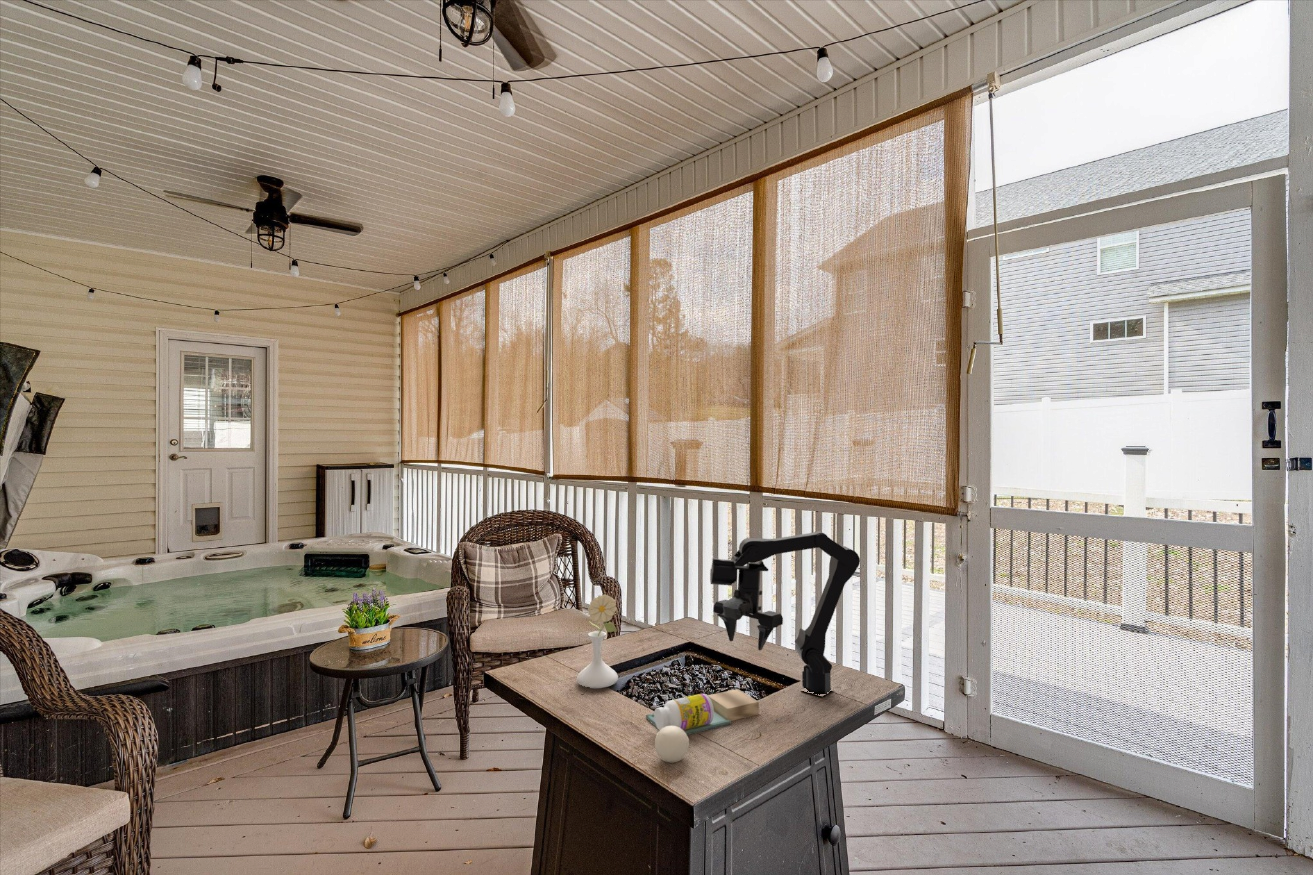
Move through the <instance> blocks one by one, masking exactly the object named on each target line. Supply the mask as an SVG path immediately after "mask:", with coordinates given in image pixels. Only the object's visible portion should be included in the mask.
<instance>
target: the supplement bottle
mask: <svg viewBox="0 0 1313 875" xmlns="http://www.w3.org/2000/svg"><path fill="white" fill-rule="evenodd" d="M707 695H708V694H706V693H698V694H694V695H690V696H689V695H688V696H685V697H679V698H676V699H672V700H671V699H670V700H667V701H666V702H665V704H664V706H663V707H662V706H660V707H656V708H655V709H654V712H653V713H654V719H655V724H656V726H657V727H656V729H658V731H660V730H661V729H662V728H664V727H666V726H677V727H679V728H681V729H682V730H686V729H690V728H694V727H699V726H703V725H707V724H710V723H711V722H712V721H713V718H714V708H713V704H712V701H711V699H710V698H709V697H708V696H707Z"/></svg>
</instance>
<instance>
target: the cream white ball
mask: <svg viewBox="0 0 1313 875" xmlns="http://www.w3.org/2000/svg"><path fill="white" fill-rule="evenodd" d="M689 743H690V739H689V737H688V735H687V734H686V733H685V732H684V731H683V730H682V729H681V728H679V727H677V726H666V727H664V728H662V729H661V730H658V732H657V734H656V736H655V740H654V749H655V753H656V754H657V756H658V757H659V758H660V759H661V760H662V761H664V762H666V763H677V762H680V761H681V760H683V759H684V758H685V756H686V755H687V753H688V750H689Z"/></svg>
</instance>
